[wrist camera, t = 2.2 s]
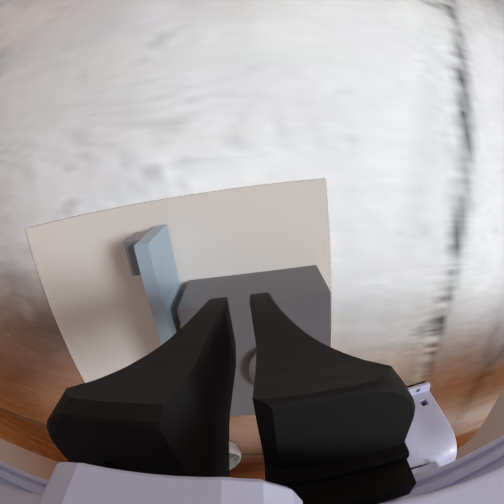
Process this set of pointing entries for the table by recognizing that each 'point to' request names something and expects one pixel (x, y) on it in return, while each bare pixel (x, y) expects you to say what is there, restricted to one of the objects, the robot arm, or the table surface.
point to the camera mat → (185, 255)
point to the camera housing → (238, 294)
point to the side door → (157, 276)
